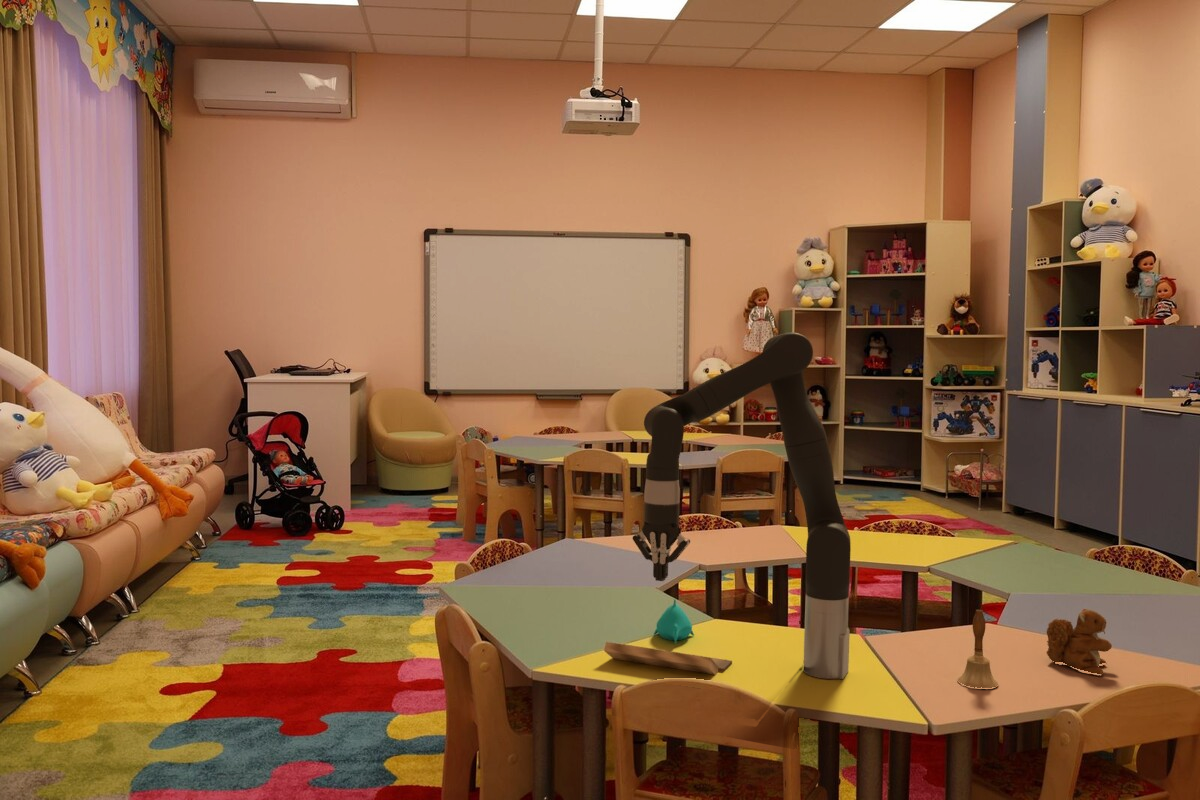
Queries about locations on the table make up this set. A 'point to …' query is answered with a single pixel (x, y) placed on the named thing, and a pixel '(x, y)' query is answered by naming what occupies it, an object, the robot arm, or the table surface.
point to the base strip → (720, 662)
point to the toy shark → (674, 624)
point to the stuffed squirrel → (1078, 641)
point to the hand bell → (978, 659)
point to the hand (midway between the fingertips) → (660, 580)
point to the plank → (661, 658)
